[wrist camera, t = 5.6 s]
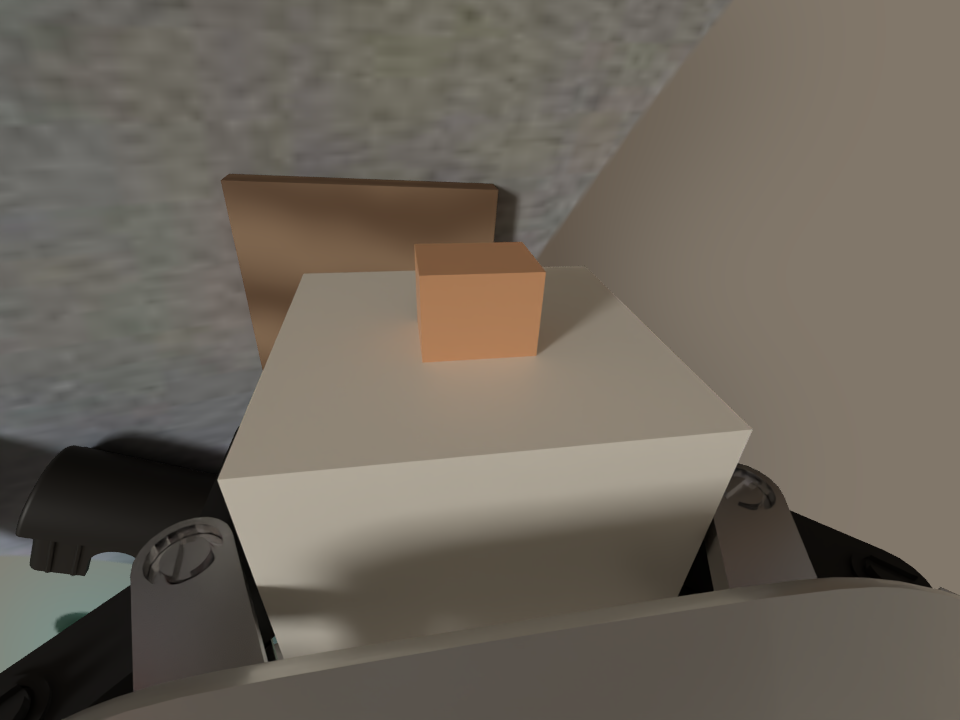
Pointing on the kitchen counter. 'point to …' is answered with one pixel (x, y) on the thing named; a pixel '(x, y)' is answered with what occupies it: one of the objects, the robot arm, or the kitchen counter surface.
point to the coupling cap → (469, 452)
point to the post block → (340, 231)
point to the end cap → (105, 506)
